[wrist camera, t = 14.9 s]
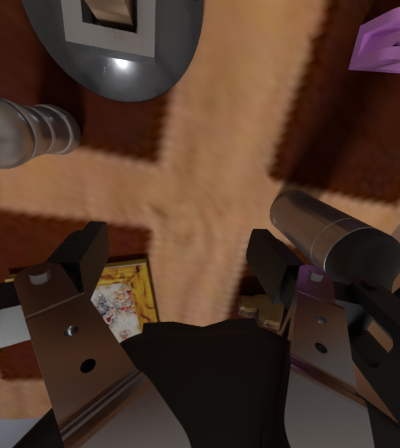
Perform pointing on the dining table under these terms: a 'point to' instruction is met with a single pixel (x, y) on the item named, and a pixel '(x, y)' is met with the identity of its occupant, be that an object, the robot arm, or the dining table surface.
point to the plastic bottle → (34, 132)
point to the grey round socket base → (120, 45)
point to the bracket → (378, 44)
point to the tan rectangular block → (114, 13)
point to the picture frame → (123, 297)
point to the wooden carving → (261, 310)
